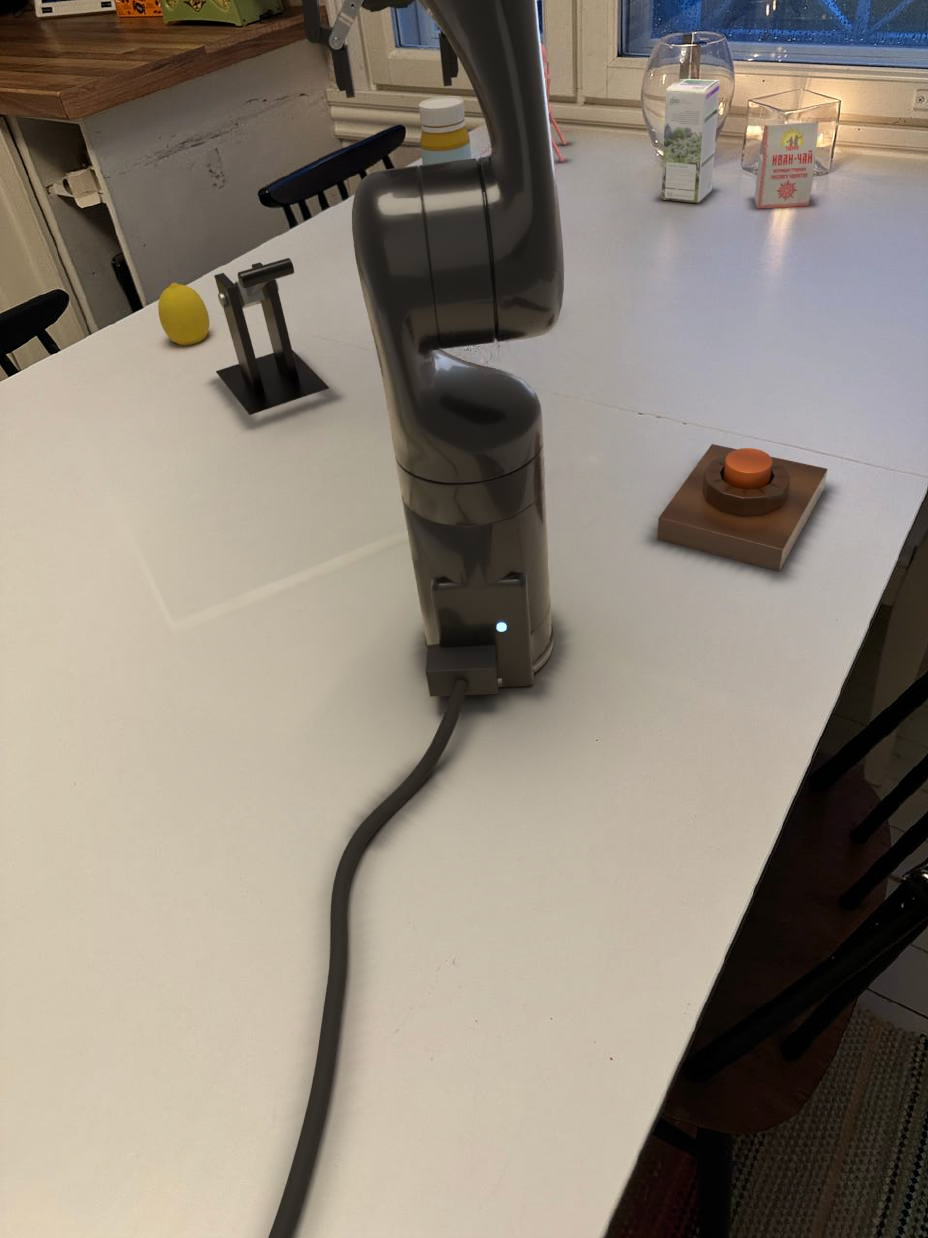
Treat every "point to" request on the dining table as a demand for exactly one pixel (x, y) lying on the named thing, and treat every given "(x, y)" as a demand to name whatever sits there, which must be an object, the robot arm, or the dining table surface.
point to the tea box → (786, 165)
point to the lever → (260, 280)
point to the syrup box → (689, 139)
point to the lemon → (183, 315)
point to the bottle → (443, 130)
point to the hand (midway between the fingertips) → (399, 89)
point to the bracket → (269, 374)
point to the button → (747, 468)
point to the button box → (742, 511)
